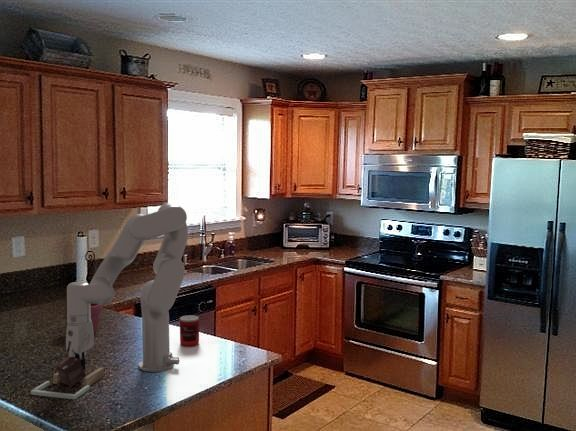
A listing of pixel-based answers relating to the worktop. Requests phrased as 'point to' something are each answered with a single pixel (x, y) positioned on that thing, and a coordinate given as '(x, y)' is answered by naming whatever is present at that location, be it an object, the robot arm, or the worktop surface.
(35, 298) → the worktop surface
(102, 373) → the channel
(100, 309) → the plant pot
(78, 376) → the box
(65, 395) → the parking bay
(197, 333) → the canned food
